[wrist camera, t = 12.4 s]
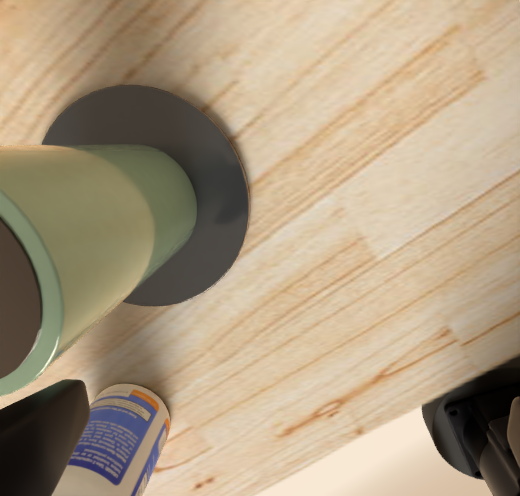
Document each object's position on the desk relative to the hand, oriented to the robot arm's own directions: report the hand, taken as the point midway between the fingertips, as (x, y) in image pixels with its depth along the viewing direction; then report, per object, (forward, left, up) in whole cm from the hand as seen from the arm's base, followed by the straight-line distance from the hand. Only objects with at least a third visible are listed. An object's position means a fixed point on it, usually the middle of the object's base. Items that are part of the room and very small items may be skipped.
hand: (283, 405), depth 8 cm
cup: (+1, +8, -11) cm, 14 cm away
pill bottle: (-6, +15, -13) cm, 21 cm away
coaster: (+6, +7, -13) cm, 15 cm away
